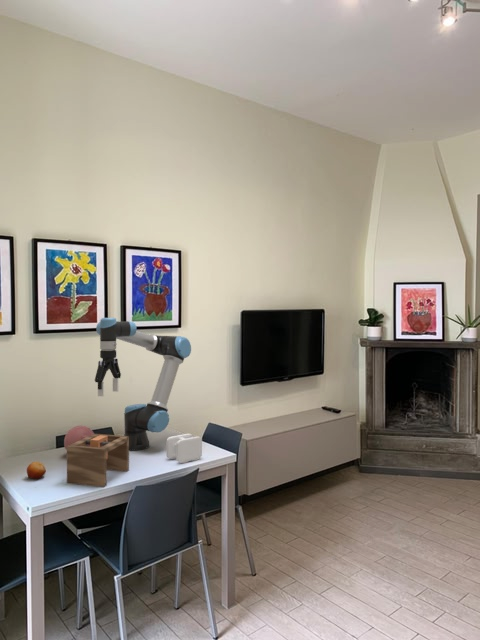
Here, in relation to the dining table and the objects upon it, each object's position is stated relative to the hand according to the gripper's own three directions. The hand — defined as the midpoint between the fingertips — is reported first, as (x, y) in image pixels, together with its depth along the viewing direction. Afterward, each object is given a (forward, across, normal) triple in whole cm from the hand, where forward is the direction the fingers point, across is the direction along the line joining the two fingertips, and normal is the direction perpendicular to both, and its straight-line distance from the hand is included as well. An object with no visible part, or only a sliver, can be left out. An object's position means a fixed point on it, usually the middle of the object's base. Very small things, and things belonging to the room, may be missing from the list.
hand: (108, 393), depth 229 cm
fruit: (+35, -24, +22) cm, 48 cm away
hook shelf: (+35, -15, -4) cm, 38 cm away
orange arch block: (+28, -15, -4) cm, 32 cm away
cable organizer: (+35, +18, -32) cm, 51 cm away
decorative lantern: (+35, +8, +20) cm, 41 cm away
